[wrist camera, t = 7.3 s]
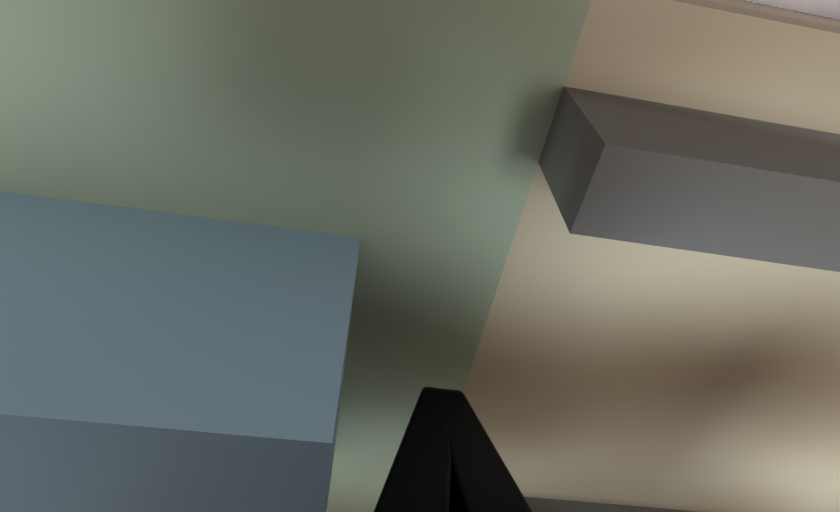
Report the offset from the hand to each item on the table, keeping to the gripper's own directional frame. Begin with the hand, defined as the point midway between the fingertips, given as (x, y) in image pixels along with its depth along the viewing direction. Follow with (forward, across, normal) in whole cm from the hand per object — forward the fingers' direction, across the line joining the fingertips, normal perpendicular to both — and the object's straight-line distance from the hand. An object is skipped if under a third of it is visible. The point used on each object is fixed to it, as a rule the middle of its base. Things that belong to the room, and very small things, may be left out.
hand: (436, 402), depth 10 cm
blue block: (+1, +5, 0) cm, 5 cm away
